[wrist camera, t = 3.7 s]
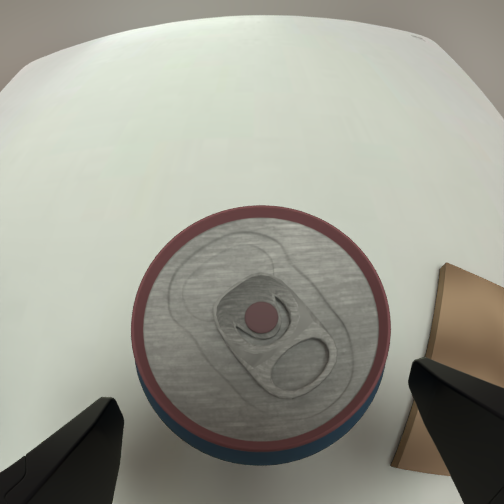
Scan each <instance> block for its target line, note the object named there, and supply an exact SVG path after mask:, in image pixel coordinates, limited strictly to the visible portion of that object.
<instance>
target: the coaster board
mask: <svg viewBox="0 0 504 504" xmlns="http://www.w3.org/2000/svg"><path fill="white" fill-rule="evenodd" d="M425 357H426V358H429V359H432V360H434V361H436V362H439V363H441V364H444V365H446V366H449V367H451V368H454V369H456V370H459V371H461V372H464V373H466V374H469V375H472V376H474V377H477V378H479V379H482V380H484V381H487V382H490V383H492V384H495V385H497V386H500V387H503V388H504V288H503V287H501V286H499V285H497V284H495V283H492V282H490V281H488V280H486V279H484V278H481V277H479V276H477V275H475V274H472V273H470V272H468V271H465V270H463V269H461V268H459V267H456V266H454V265H452V264H449V263H447V262H446V263H445V264H444V265H443V266H442V267H441V268H440V274H439V283H438V290H437V297H436V304H435V310H434V316H433V322H432V327H431V332H430V337H429V342H428V347H427V351H426V356H425ZM391 466H392V467H395V468H400V469H405V470H411V471H417V472H423V473H430V474H437V475H445V476H451V475H450V473H449V471H448V469H447V467H446V465H445V463H444V461H443V459H442V458H441V456H440V454H439V452H438V450H437V448H436V446H435V444H434V442H433V440H432V438H431V436H430V434H429V433H428V431H427V429H426V427H425V425H424V423H423V420H422V418H421V415H420V413H419V410H418V408H417V405H416V403H415V400H414V401H413V405H412V408H411V411H410V414H409V417H408V421H407V424H406V426H405V429H404V432H403V435H402V438H401V441H400V443H399V446H398V449H397V451H396V454H395V456H394V459H393V461H392V464H391Z"/></svg>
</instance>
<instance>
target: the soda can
mask: <svg viewBox="0 0 504 504" xmlns="http://www.w3.org/2000/svg"><path fill="white" fill-rule="evenodd" d="M390 336H391V321H390V312H389V305H388V301H387V297H386V294H385V290H384V288H383V285H382V283H381V280H380V278H379V276H378V274H377V272H376V270H375V269H374V267H373V265H372V264H371V262H370V261H369V259H368V258H367V256H366V255H365V254H364V253H363V251H362V250H361V249H360V248H359V247H358V246H357V245H356V244H355V243H354V242H353V241H352V240H351V239H350V238H349V237H348V236H346V235H345V234H344V233H343V232H341V231H340V230H338V229H337V228H336V227H334V226H332V225H331V224H329V223H327V222H326V221H324V220H322V219H320V218H318V217H315V216H313V215H310V214H308V213H305V212H302V211H298V210H294V209H290V208H285V207H278V206H266V205H256V206H245V207H238V208H233V209H228V210H225V211H221V212H218V213H215V214H212V215H210V216H208V217H205V218H203V219H201V220H199V221H197V222H195V223H194V224H192V225H190V226H189V227H187V228H186V229H184V230H183V231H181V232H180V233H179V234H178V235H176V236H175V237H174V238H173V239H172V240H171V241H169V242H168V243H167V244H166V245H165V246H164V248H163V249H162V250H161V251H160V252H159V253H158V255H157V256H156V257H155V259H154V260H153V261H152V263H151V264H150V266H149V268H148V269H147V271H146V273H145V275H144V277H143V279H142V281H141V283H140V286H139V288H138V291H137V295H136V298H135V302H134V306H133V312H132V321H131V340H132V348H133V354H134V358H135V364H136V369H137V374H138V377H139V380H140V383H141V386H142V388H143V391H144V393H145V395H146V397H147V399H148V401H149V402H150V404H151V406H152V407H153V409H154V410H155V412H156V413H157V414H158V416H159V417H160V418H161V420H162V421H163V422H164V423H165V424H166V425H167V426H168V427H169V428H170V429H171V430H172V431H173V432H174V433H175V434H176V435H177V436H179V437H180V438H181V439H182V440H184V441H185V442H186V443H188V444H189V445H191V446H192V447H194V448H196V449H198V450H200V451H201V452H203V453H206V454H208V455H210V456H212V457H215V458H218V459H221V460H224V461H228V462H232V463H237V464H243V465H257V466H264V465H277V464H283V463H289V462H293V461H296V460H300V459H303V458H305V457H308V456H311V455H313V454H315V453H317V452H319V451H321V450H323V449H325V448H327V447H328V446H330V445H331V444H333V443H334V442H336V441H337V440H339V439H340V438H341V437H342V436H344V435H345V434H346V433H347V432H348V431H349V430H350V429H351V428H352V427H353V426H354V425H355V424H356V423H357V422H358V421H359V419H360V418H361V417H362V416H363V414H364V413H365V412H366V410H367V409H368V407H369V405H370V404H371V402H372V400H373V398H374V396H375V394H376V392H377V390H378V388H379V385H380V382H381V379H382V376H383V372H384V368H385V363H386V359H387V356H388V351H389V346H390Z"/></svg>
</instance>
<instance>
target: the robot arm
mask: <svg viewBox="0 0 504 504" xmlns="http://www.w3.org/2000/svg"><path fill="white" fill-rule="evenodd" d="M408 384H409V388H410V391H411V393H412V395H413V398H414V400H415V403H416V405H417V408H418V410H419V413H420V415H421V418H422V420H423V423H424V425H425V427H426V429H427V431H428V433H429V434H430V436H431V438H432V440H433V442H434V444H435V446H436V448H437V450H438V452H439V454H440V456H441V458H442V459H443V461H444V463H445V465H446V467H447V469H448V471H449V473H450V475H451V478H452V480H453V482H454V484H455V486H456V488H457V490H458V492H459V494H460V496H461V498H462V501H463V503H464V504H504V388H503V387H500V386H497V385H495V384H492V383H490V382H487V381H484V380H482V379H479V378H477V377H474V376H472V375H469V374H466V373H464V372H461V371H459V370H456V369H454V368H451V367H449V366H446V365H444V364H441V363H439V362H436V361H434V360H432V359H429V358H426V357H423V358H419V359H416V360H414V361H413V363H412V366H411V371H410V375H409V380H408ZM123 428H124V418H123V415H122V413H121V411H120V409H119V406H118V404H117V402H116V400H115V399H114V398H112V397H101V398H99V399H98V400H97V401H95V402H94V403H93V404H91V405H90V406H89V407H88V408H86V409H85V410H84V411H82V412H81V413H80V414H79V415H77V416H76V417H75V418H73V419H72V420H71V421H69V422H68V423H67V424H66V425H64V426H63V427H62V428H60V429H59V430H58V431H56V432H55V433H54V434H53V435H51V436H50V437H49V438H47V439H46V440H45V441H43V442H42V443H41V444H39V445H38V446H37V447H35V448H34V449H33V450H31V451H30V452H29V453H27V454H26V456H23V457H22V458H21V459H19V460H18V461H17V462H15V463H14V464H12V465H11V466H10V467H8V468H7V469H5V470H4V471H2V472H0V504H112V501H113V496H114V491H115V485H116V480H117V476H118V471H119V465H120V458H121V447H122V437H123Z"/></svg>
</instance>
